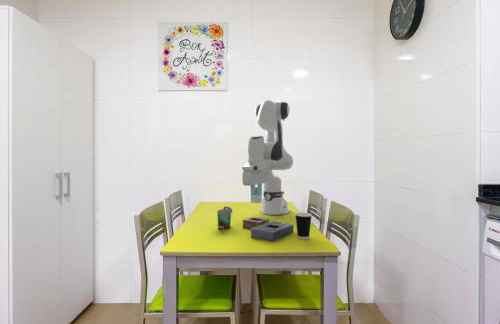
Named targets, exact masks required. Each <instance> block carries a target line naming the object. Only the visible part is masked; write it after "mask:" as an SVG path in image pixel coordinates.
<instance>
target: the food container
mask: <svg viewBox="0 0 500 324" xmlns="http://www.w3.org/2000/svg"><path fill="white" fill-rule="evenodd" d="M216 213H217V230H228V229H230V228H231V221H232V213H233V208H232V207H230V206H223V208H221V209H219V210H217V211H216Z"/></svg>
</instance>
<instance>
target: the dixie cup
mask: <svg viewBox="0 0 500 324" xmlns="http://www.w3.org/2000/svg"><path fill="white" fill-rule="evenodd" d="M294 215H295V224H296V233H297V238H298V239H301V240H308V239H309V236H310V233H311V232H310V230H311V223H312V216H313V213H309V212H296V213H295V214H294Z"/></svg>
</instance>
